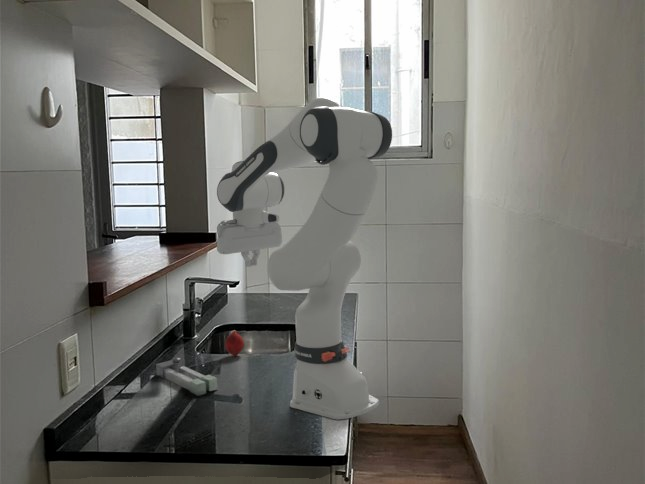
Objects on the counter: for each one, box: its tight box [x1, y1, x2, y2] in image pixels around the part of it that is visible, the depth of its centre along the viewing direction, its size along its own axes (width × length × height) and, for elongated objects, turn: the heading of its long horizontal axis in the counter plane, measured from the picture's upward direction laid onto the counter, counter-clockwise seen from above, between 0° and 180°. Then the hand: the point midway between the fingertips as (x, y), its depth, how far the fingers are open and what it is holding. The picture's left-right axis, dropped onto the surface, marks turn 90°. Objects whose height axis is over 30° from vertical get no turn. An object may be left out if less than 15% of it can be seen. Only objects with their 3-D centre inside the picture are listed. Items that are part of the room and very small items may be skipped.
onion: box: [224, 329, 245, 357], centre depth 198 cm, size 6×6×8 cm
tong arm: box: [171, 356, 219, 392], centre depth 176 cm, size 21×2×4 cm, turn 40°
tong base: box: [155, 359, 207, 397], centre depth 176 cm, size 24×6×3 cm, turn 40°
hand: (251, 266), depth 185 cm, fingers closed
